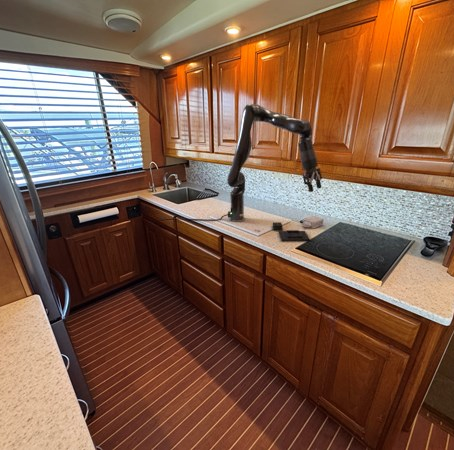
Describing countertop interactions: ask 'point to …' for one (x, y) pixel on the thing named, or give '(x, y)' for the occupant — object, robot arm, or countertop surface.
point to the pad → (277, 226)
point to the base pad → (293, 235)
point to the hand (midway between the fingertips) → (315, 189)
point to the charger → (312, 222)
